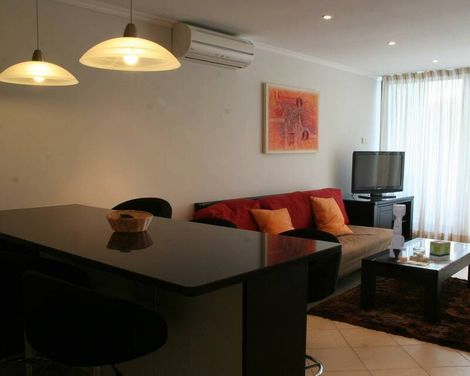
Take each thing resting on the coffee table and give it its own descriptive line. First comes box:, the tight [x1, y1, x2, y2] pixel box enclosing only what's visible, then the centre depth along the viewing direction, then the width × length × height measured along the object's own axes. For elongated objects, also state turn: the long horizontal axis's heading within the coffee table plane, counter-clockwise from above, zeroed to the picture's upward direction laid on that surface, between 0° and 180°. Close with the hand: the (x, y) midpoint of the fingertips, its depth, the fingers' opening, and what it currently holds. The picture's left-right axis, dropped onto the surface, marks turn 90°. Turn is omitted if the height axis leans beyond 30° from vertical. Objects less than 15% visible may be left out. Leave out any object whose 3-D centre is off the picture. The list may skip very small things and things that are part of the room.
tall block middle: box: [415, 252, 424, 262], centre depth 378 cm, size 4×4×6 cm
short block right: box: [423, 256, 431, 264], centre depth 374 cm, size 4×4×4 cm
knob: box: [399, 255, 408, 261], centre depth 375 cm, size 4×4×3 cm
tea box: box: [428, 239, 451, 262], centre depth 387 cm, size 15×10×15 cm
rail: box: [396, 259, 430, 267], centre depth 371 cm, size 22×8×1 cm, turn 48°
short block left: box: [409, 254, 416, 261], centre depth 381 cm, size 4×4×4 cm
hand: (396, 258), depth 379 cm, fingers closed
